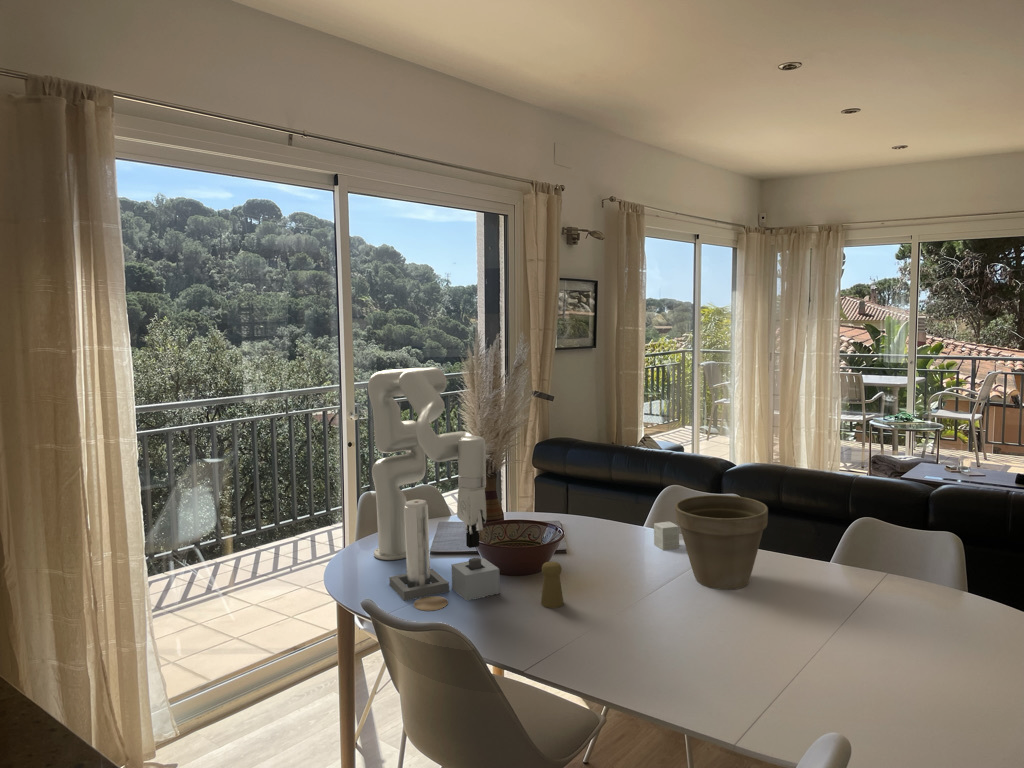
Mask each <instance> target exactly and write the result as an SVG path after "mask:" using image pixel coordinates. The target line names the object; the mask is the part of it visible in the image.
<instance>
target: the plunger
mask: <svg viewBox="0 0 1024 768" xmlns="http://www.w3.org/2000/svg"><path fill="white" fill-rule="evenodd" d="M481 559H482V558H479V557H471V558H469V559H468V561H469V569H470V570H476V569H481Z"/></svg>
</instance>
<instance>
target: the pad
mask: <svg viewBox="0 0 1024 768" xmlns="http://www.w3.org/2000/svg"><path fill="white" fill-rule="evenodd" d="M448 604H449V601H448V599H447V598H446V597H443V596H438V595H436V596H435V595H430V596H425V597H421V598H417V599H415V601H414V603H413V606H414V608H415V609H416V610H419V611H426V612H428V611H429V612H430V611H432V612H433V611H438V610H441V609H444V608H445V607H446V605H448ZM443 607H444V608H443Z"/></svg>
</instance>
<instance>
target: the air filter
mask: <svg viewBox="0 0 1024 768" xmlns="http://www.w3.org/2000/svg"><path fill="white" fill-rule="evenodd" d="M406 501H407V500H406ZM428 507H429V506H428V503H427V501H426V500H425V499H410V500H408V501H407V502H406V504H405V505H404V516H405V541H406V558H405V561H406V563H405V564H406V574H407V585H406V586H407V587H408V588H412V587H417V586H421V585H426V584H431V582H430V569H431V561H430V559H431V557H430V537H429V536H430V532H429V531H430V530H429V529H430V528H429V508H428Z"/></svg>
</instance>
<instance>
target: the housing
mask: <svg viewBox="0 0 1024 768" xmlns="http://www.w3.org/2000/svg"><path fill="white" fill-rule="evenodd" d="M480 559H481V569H476V570H470V569H469V560H468V561H467V560H466V561H462V562H457V563H453V564H452V563H451V588H452V590H453V591H454V592H455V593H457V594H458V595H459V596H460V595H461V596H462V597H461V596H460V597H461V598H462V599H463V600H465V601H466V600H468V601H472V600H471V599H473V600H476V599H475V598H477V599H480V598H479V597H482V598H484V597H483V596H487V597H489V596H488V595H491V596H494V594H496V595H498V594H499V593H500V594H501V588H500V587H501V585H500V582H501V580H500V568H499V567H498V566H496V565H495V564H493V563H491V562H490V561H488V560H487V559H486V558H484V557H483V558H480Z"/></svg>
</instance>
